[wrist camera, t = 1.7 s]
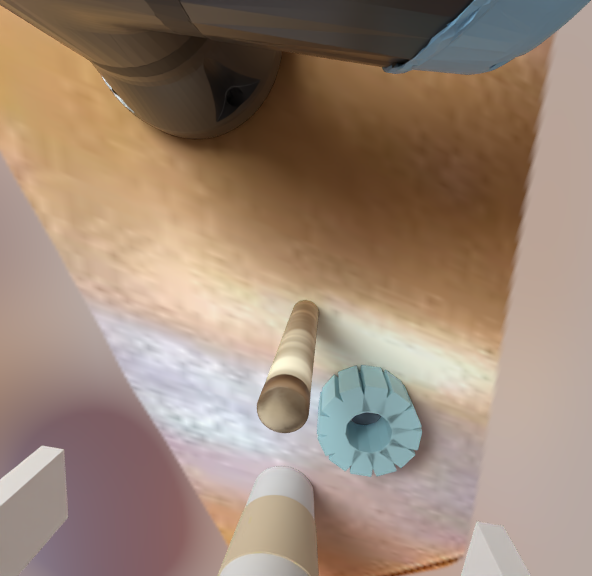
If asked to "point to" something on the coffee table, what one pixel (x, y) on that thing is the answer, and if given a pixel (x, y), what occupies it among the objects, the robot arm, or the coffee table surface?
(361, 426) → the bead
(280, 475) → the coffee cup
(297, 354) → the tan cylindrical rod
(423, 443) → the coffee table surface
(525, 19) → the robot arm
